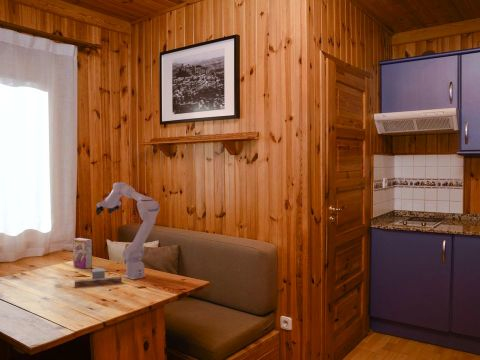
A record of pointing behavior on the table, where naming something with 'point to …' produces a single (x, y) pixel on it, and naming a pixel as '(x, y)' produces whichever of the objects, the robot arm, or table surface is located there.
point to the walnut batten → (98, 281)
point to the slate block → (98, 273)
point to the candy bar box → (82, 253)
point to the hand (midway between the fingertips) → (103, 213)
